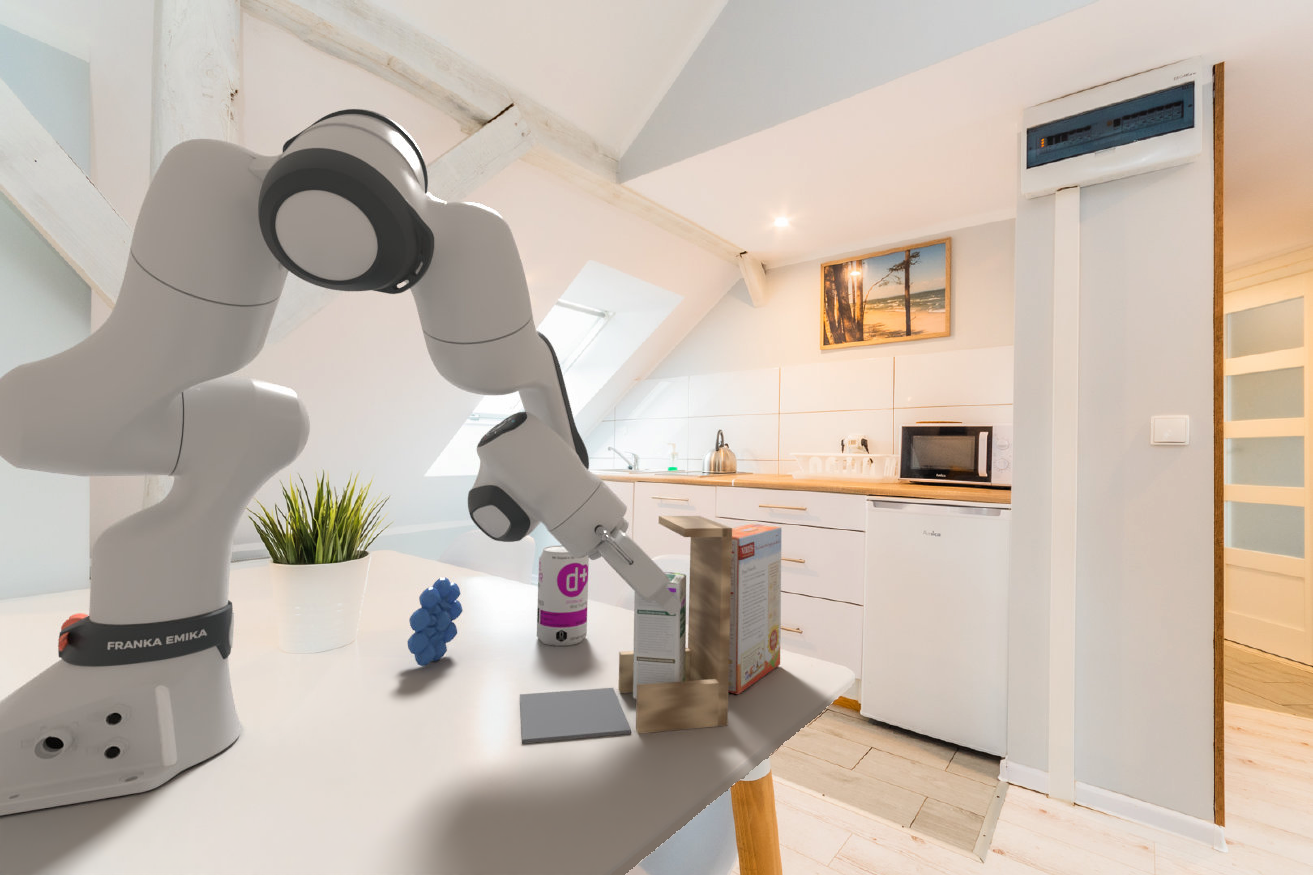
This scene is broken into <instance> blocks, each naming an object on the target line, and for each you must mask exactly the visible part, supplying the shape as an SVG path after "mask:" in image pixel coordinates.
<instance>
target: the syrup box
mask: <svg viewBox="0 0 1313 875" xmlns="http://www.w3.org/2000/svg"><path fill="white" fill-rule="evenodd" d="M663 572H664V573H665V574H666V575H667V577H668V578H669V584H668V585H667V588H668V589H669V590H670V592H671V593H672V594H673V596H674V597H675V598H676V599H677V600H678V601H679V602H680V603H681V608H680V609H679V610H678V611H677V612H676V613H675V615H670V614H669V613H668V612H667V611H666V610H665V609H664V608H663V607H662V606H661V605H660V604H658V603H657V602H656V601H655V600H653V601H651V602H646V601H645V600H643V599H642V598H641V597H640V596H639V595H638V594H637V593H636V592H635V591H634V602H633V604H634V607H633V608H634V609H633V611H634V612H633V613H634V614H633V615H634V616H633V651H634V660H633V692H632V698H633V699H636V700H637V685H639V684H653V683H667V682H681V681H685V649H686V648H687V647H686V641H687V640H686V638H687V637H686V636H687V634H686V633H687V631H686V630H687V628H686V627H687V626H686V624H687V575H686V574H684V573H680V572H674V571H673V572H672V571H663Z"/></svg>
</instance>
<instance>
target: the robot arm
mask: <svg viewBox="0 0 1313 875" xmlns="http://www.w3.org/2000/svg"><path fill="white" fill-rule="evenodd" d="M163 157H164V158H162V160H161V163H160V165H159V166H158V168H157V170H156V172H155V174H154V176H153V178H152V181H151V183H150V184H149V187H148V189H147V191H146V194H145V197H144V199H143V202H142V204H141V207H140V209H139V212H138V216H137V220H136V222H135V225H134V226H135V227H134V231H133V235H132V237H131V238H132V240H131V244H130V249H129V254H128V259H127V263H126V266H125V267H126V268H125V272H124V275H123V279H122V282H121V286H120V290H119V292H118V295H117V299H116V301H115V304H114V307H113V309H112V312H111V313H110V315H109V317H108V318H106V320H105V321H104V323H103V324H102V325H101V326H100V327H99V328H98V329H97V330H95V331H93V333H92V334H90V335H89V336H88V337H86V338H84V339H83V340H82V341H80V342H78V343H77V344H75V345H73V346H71V347H70V348H67V349H65V350H64V351H60V352H59V353H57V354H54V355H51V356H48V357H45V358H41V359H38V360H35V361H31V362H30V361H29V362H26V363H21V364H19V365H18V366H15V367H14V368H12V369H11V370H9V371H8V372H6V373H5V374H4V375H3V376H1V377H0V458H2V459H4V460H5V461H6V462H7V463H9V464H10V465H12V466H13V467H15V468H17V469H22V470H29V471H30V470H31V471H37V472H43V473H52V474H61V475H69V476H77V477H124V476H125V477H126V476H127V477H128V476H130V477H132V476H134V477H135V476H136V477H137V476H138V477H139V476H142V477H143V476H168V477H174V478H173V483H172V485H171V489H170V490H169V492H168V493H167V494H166V495H165V497H164V498H163V499H162V500H161V501H159V502H158V503H155V504H153V505H151V506H149V507H146V508H144V509H142V510H139V511H137V512H134V513H132V514H129V515H127V516H125V517H123V518H121V519H119V520H117V521H116V522H114V523H112V524H110V525H109V526H108V527H107V528H106V529H105V530H103V531H102V532H101V533H100V535H99V536H98V538H96V540H95V542H94V544H93V546H92V549H91V564H90V565H91V566H90V585H89V586H90V588H89V589H90V590H89V608H88V610H89V612H88V613H89V614H86V613H83V612H82V613H81V612H80V613H78V612H77V613H75V614H72V615H70V616H69V617H68V619H66V620H65V621H64V622H63V623H62V625H61V628H60V632H59V636H58V642H57V647H58V648H57V649H58V650H57V651H58V652H57V653H58V658H60V659H59V660H57V661H56V662H55V663H54V664H52V665H50V666H49V667H47V668H46V669H45V670H43V671H41V672H40V673H39V674H38V675H36V676H34V677H33V678H32V679H31V678H30V680H28V681H27V682H26V683H24V684H23V685H22V686H19V687H18V688H16V690H14V691H13V692H11V693H10V694H8V695H7V696H6V697H4V698H3V699H0V816H5V815H6V816H7V815H11V814H17V813H23V812H30V811H35V810H42V809H46V808H55V807H60V806H67V805H72V804H79V803H84V802H90V801H97V800H103V799H107V798H114V797H115V798H116V797H121V796H127V795H131V794H138V793H139V794H140V793H145V792H147V791H150V790H151V791H152V790H153V789H156V788H158V787H160V786H162V785H163V784H165V783H166V782H168V781H169V780H171V779H172V778H173V777H175V776H176V775H178V774H179V773H181V772H183V771H184V770H186V769H188V768H191V767H192V766H195V765H197V764H199V763H201V762H204V761H206V760H207V759H210V758H213V757H214V756H215V755H217V754H219V753H221V752H222V751H224V750H225V749H226V748H228V747H230V746H231V745H232V744H233V743H234V742H236V740H237V739H238V738H239V737H240V735H241V733H242V724H241V721H240V718H239V714H238V712H237V708H236V704H235V699H234V696H233V695H234V694H233V689H232V683H231V674H230V673H231V672H230V664H229V660H230V659H229V656H230V654H231V652H232V648H233V643H234V642H233V641H234V626H235V624H234V623H235V617H234V616H235V615H234V614H235V613H234V611H233V610H234V609H233V602H232V601H231V600H230V599H229V588H230V587H229V586H230V585H229V584H230V574H231V573H230V572H231V565H232V564H231V563H232V554H233V550H234V549H233V547H234V542H235V535H236V532H237V529H238V525H239V523H240V521H241V519H242V517H243V515H244V512H245V510H246V508H247V507H248V506H249V503H250V501H251V500H252V499H253V498H254V497H255V495H256V494H257V492H259V491H260V489H261V488H262V487H263V486H264V485H265V484H266V483H267V482H268V481H269V480H271V478H272V477H273V478H274V476H275V475H276V474H278V473H279V472H280V471H282V470H284V469H286V468H287V467H289V466H290V465H291V464H292V463H294V461H296V459H298V457H299V456H300V455H301V454H302V453H303V450H304V449H305V447H306V444H307V442H308V440H309V436H310V429H311V426H310V416H309V412H308V410H307V408H306V405H305V404H304V402H303V400H302V399H301V398H300V396H299V395H298V394H297V392H296V391H294V389H293V388H290V387H288V386H283V385H281V384H277V383H273V382H270V381H267V380H263V379H258V378H253V377H250V376H246V375H232V374H234V373H236V372H238V371H240V370H241V369H244V368H245V367H246V366H248V365H249V364H251V363H252V362H253V361H254V359H255V358H257V357H258V355H259V354H260V352H261V351H262V350H263V348H264V345H265V343H266V340H267V338H268V334H269V331H270V328H271V325H272V322H273V319H274V317H275V313H276V310H277V307H278V305H279V300H280V298H281V295H282V293H283V291H284V286H285V283H286V280H287V276H288V274H289V272H290V273H291V274H293V275H294V276H295V277H298V278H299V279H301V280H303V281H305V282H307V283H310V284H311V285H314V286H317V287H321V288H325V289H326V290H327V289H328V290H332V291H333V290H334V291H340V292H368V291H374V292H379V293H383V294H389V295H396V294H397V295H398V294H403V293H405V292H406V291H408V290H410V291H411V295H412V297H413V299H414V303H415V305H416V306H415V307H416V310H417V314H418V318H419V323H420V326H421V330H422V334H423V338H424V340H425V341H424V342H425V345H426V349H427V353H428V355H429V357H430V359H431V361H432V364H433V365H434V368H435V369H436V370H437V372H438V373H439V375H440V376H441V377H443V379H444V380H446V381H447V382H449V383H450V384H451V385H452V386H455V387H456V388H458V389H460V390H461V391H466V392H468V393H472V394H476V395H481V396H482V395H483V396H505V395H510V394H513V393H517V392H518V394H519V397H520V400H521V403H522V406H523V409H524V411H519V412H516V413H513V414H510V415H509V416H508V417H505V419H503V420H502V421H501V422H500V423H498V424H495V426H493V427H492V428H490V429H489V431H487V432H486V433H485V434H484V435H483V436H482V437H481V439H480V440H479V441H478V443H477V446H476V453H477V456H478V458H479V461H480V463H479V469H478V472H477V475H476V476H477V477H476V479H475V481H474V483H473V486H472V487H471V489H470V490H469V491H468V495H467V508H468V509H467V510H468V513H469V516H470V519H471V520H472V522H473V523H474V524H475V526H476V527H477V528H478V529H480V531H481V532H483V533H484V534H485V535H486V536H487V537H489V538H490V539H491V540H493V541H497V542H505V543H513V542H519V541H522V540H523V539H524V538H525V537H527V536H529V535H530V534H532V532H533V531H534V530H535V529H537V527H538V526H539V525H540V524H543V526H544V527H545V529H546V530H547V532H548V533H549V534H551V535H552V536H553V538H554V539H555V540H556V541H557V542H558V543H559V544H560V545H562V546H563V547H564V548H565V549H566V550H567V551H568V552H569V553H570V554H571V555H572V556H573V557H574V558H579V557H581V556H583V555H585V554H586V555H587V556H588V557H589V560H591V561H596V560H598V559H600V558H603V559H604V560H605V562H606V563H607V564H608V565H609V566H610V567H611V568H612V569H613V570H614V571H615V572H616V574H618V575H619V576H620V577H621V578H622V579H623V581H625V583H626V584H627V585H628V586H629V587H630V588H631V589H632V590H633V591H634V593H635V592H636V593H637V594H638V595H639V596H640V597H641V598H642V599H643V600H645V601H646V602H651V601H653V600H655V601H656V602H657V603H658V604H660V605H661V606H662V607H663V608H664V609H665V610H666V611H667V612H668V613H669V614H670V615H675V613H676V612H677V611H678V610H679V609H680V608H681V603H680V602H679V601H678V600H677V599H676V598H675V597H674V596H673V594H672V593H671V592H670V590H669V589H668V588H667V585H668V584H669V578H668V577H667V575H666V574H665V573H664V572H665V571H664V570H663V569H662V568H660V566H659V565H658V564H657V563H656V562H655V561H654V560H653V559H652V558H651V557H650V556H649V555H648V554H647V553H646V552H645V551H644V550H643V548H641V547H640V546H639V544H637V543H636V542H635V540H634V539H633V538H631V537H630V535H628V534H627V533H626V532H627V530H628V528H629V522H628V521H627V519H625V518H624V516H625V515H626V512H627V510H628V507H627V505H626V504H625V503H624V501H622V500H621V498H620V497H618V496H617V495H616V493H615V492H614V491H613V490H612V489H611V488H610V487H609V486H608V485H607V483H605V482H604V480H602V478H600V476H598V475H597V474H595V473H593V472H591V471H590V470H589V469H590V459H589V454H588V453H589V452H588V450H587V447H586V444H585V443H584V440H583V438H582V436H581V434H580V433H579V431H578V428H577V426H576V422H575V419H574V415H573V411H572V407H571V403H570V399H569V396H568V392H567V386H566V384H565V379H564V376H563V372H562V368H561V366H560V361H559V358H558V356H557V353H556V351H555V348H554V347H553V345H552V343H551V342H550V340H549V338H547V336H546V335H544V334H543V333H542V332H540V331H539V330H537V328H536V325H535V321H534V316H533V310H532V309H533V308H532V303H531V297H530V292H529V287H528V284H527V283H528V282H527V277H526V274H525V270H524V267H523V266H524V265H523V262H522V259H521V256H520V253H519V250H518V246H517V243H516V241H515V239H514V236H513V233H512V230H511V228H510V225H509V224H508V223H507V221H506V220H505V218H503V216H502V215H501V214H499V213H498V212H497V211H496V210H494V209H492V208H490V207H487V206H485V205H483V204H480V203H475V202H471V201H451V202H447V201H446V200H442V199H439V198H437V197H435V196H433V195H432V194H431V193H430V192H428V186H429V185H428V184H429V181H428V178H429V176H428V170H427V167H426V163H425V160H424V157H423V154H422V152H421V149H420V147H419V146H418V145H417V143H416V142H415V140H414V138H413V137H412V135H410V133H408V132H407V130H406V129H405V128H403V126H401V125H400V124H398V123H397V122H396V121H395V120H393V119H391V118H390V117H388V116H386V115H384V114H382V113H379V112H376V111H373V110H369V109H362V108H348V109H340V110H337V111H334V112H331V113H329V114H327V115H325V116H323V117H321V118H319V119H318V120H316V121H314V122H313V123H312V124H311V125H309V126H308V127H306V128H305V129H303V130H302V131H300V132H299V133H298V134H295V135H294V136H293V137H291V138H290V139H288V140H287V141H285V143H284V144H283V147H282V152H281V153H280V154H278V155H274V156H270V155H269V156H268V155H263V154H260V153H257V152H255V151H252V150H250V149H248V148H246V147H243V146H241V145H239V144H236V143H232V142H228V141H225V140H222V139H221V140H220V139H212V138H194V139H189V140H188V139H187V140H185V141H182V142H180V143H178V144H176V145H174V146H173V147H172V148H171V149H170V150H169V151H167V153H166V155H165V156H163ZM402 283H405V284H404V285H403V286H401V287H398V285H400V284H402Z"/></svg>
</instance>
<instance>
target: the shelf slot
mask: <svg viewBox="0 0 1313 875" xmlns="http://www.w3.org/2000/svg"><path fill="white" fill-rule="evenodd" d="M658 524H659V525H661V526H663V527H664V528H666V529H668V530H670V531H671V532H674V533H676V534H678V535H680V536H682V537H684V538H690V543H689V544H690V546H689V547H690V552H689V555H690V556H689V585H688V586H689V591H688V592H689V594H688V600H689V601H688V628H687V630H688V634H687V647H686V649H685V681H681V682H667V683H653V684H639V685H637V699H636V708H635V709H636V712H635V729H636V733H637V734H646V733H655V732H656V733H658V732H669V731H680V730H689V729H690V730H691V729H700V728H701V729H702V728H711V727H712V728H715V727H723V726H728V720H729V719H728V716H729V714H728V713H729V692H728V682H729V640H730V598H731V556H732V528H733V527H730V526H728V525H725V524H722V523H719V522H717V521H714V520H712V519H709V518H706V517H704V516H701V515H658ZM618 653H619V654H618V656H619V657H618V685H617V686H618V688H617V690H618V692H619V694H627V693H630V694H631V693H633V660H634V650H627V651H626V650H623V651H619V652H618Z"/></svg>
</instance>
